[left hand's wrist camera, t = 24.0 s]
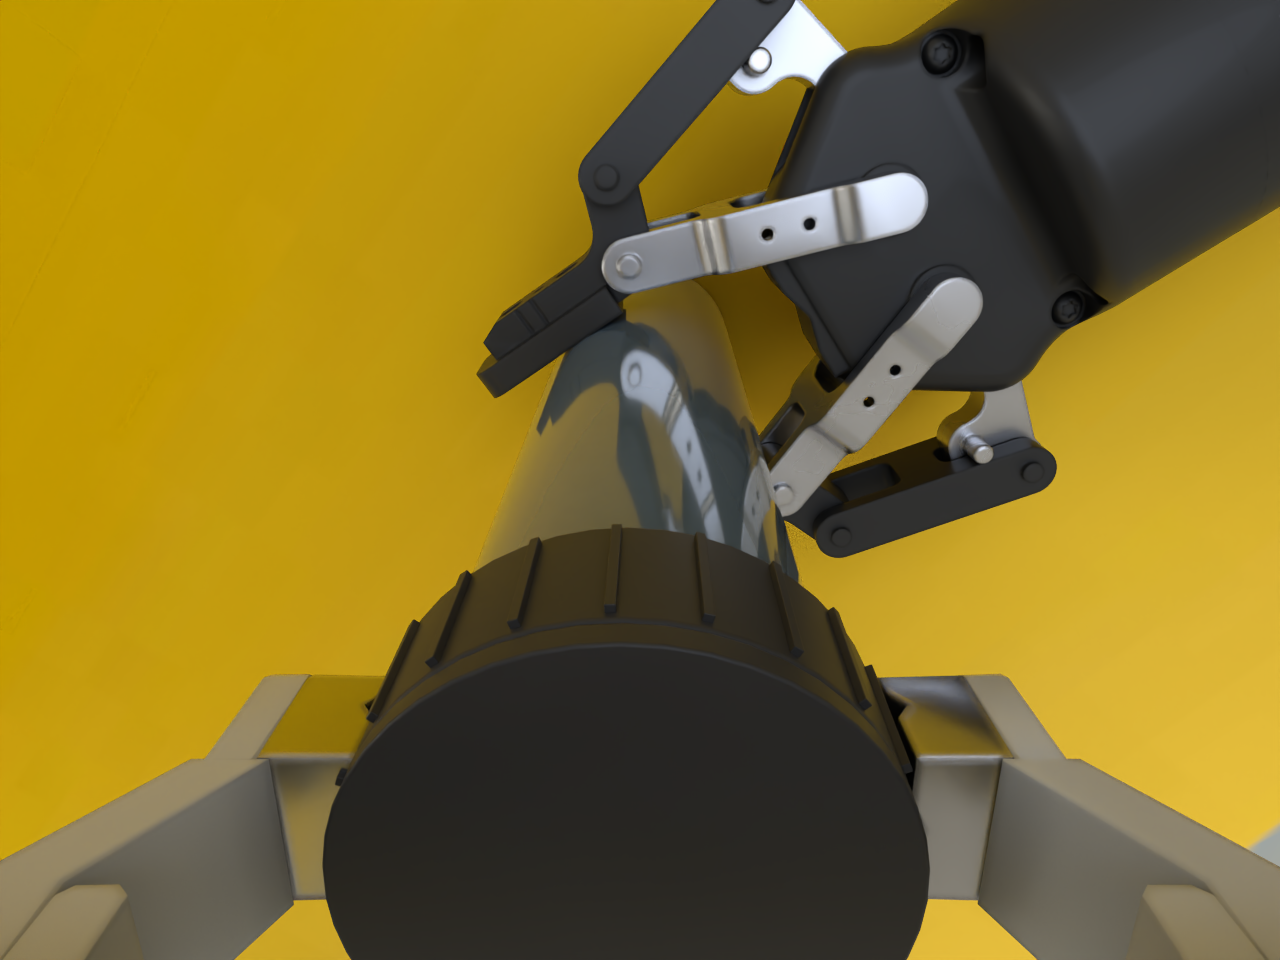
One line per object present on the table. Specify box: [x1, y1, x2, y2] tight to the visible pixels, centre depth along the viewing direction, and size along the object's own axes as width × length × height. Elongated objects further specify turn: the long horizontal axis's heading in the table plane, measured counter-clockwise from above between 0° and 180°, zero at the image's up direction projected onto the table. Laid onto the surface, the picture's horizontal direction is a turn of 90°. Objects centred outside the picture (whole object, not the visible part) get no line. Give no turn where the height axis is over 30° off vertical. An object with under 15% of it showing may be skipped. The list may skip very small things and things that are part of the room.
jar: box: [473, 279, 804, 587], centre depth 18 cm, size 5×5×20 cm
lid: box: [322, 524, 930, 960], centre depth 10 cm, size 6×6×2 cm
